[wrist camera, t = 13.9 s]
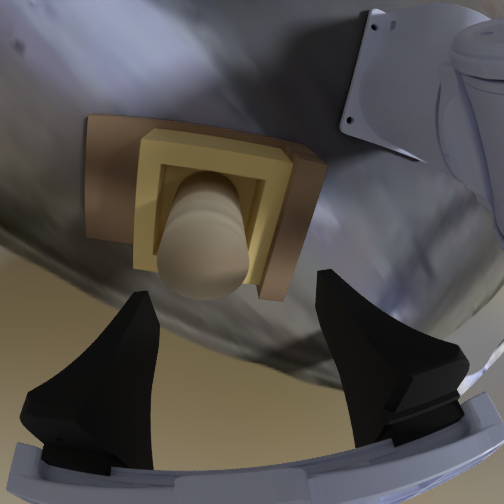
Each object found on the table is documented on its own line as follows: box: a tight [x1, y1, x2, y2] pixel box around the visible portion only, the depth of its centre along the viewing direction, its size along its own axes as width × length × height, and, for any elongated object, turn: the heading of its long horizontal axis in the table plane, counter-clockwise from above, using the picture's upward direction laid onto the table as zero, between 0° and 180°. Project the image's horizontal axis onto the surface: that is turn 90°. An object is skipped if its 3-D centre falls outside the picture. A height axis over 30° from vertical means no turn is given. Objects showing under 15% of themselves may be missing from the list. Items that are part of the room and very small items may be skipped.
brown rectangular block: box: [85, 114, 328, 301], centre depth 18 cm, size 9×14×5 cm, turn 77°
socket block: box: [133, 128, 293, 285], centre depth 19 cm, size 8×8×4 cm
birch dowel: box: [157, 171, 249, 300], centre depth 16 cm, size 4×4×7 cm
